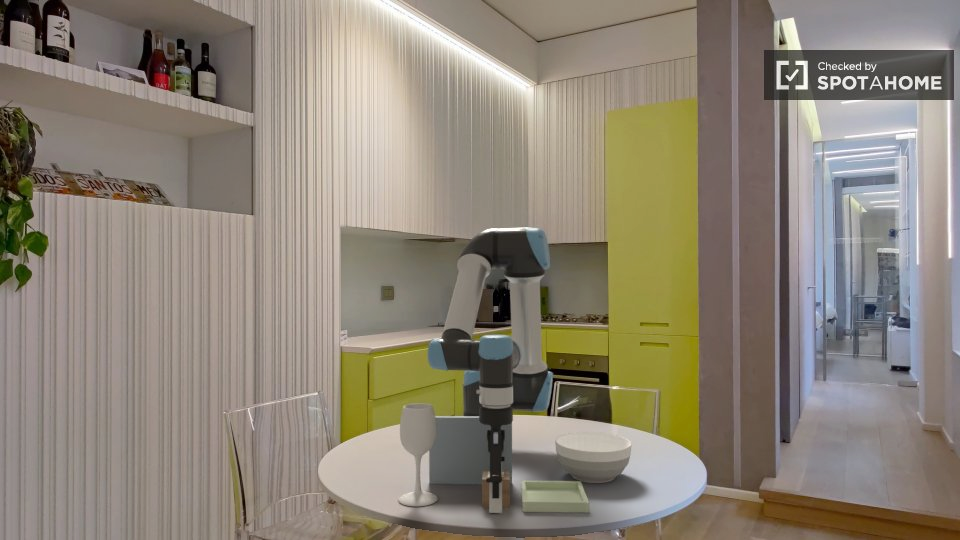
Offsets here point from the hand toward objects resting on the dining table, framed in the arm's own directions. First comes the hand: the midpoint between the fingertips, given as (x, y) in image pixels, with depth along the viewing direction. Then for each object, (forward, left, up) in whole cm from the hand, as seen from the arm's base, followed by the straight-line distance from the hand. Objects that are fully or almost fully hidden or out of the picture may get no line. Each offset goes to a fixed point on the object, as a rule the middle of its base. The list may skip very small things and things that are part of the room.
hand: (495, 501), depth 139 cm
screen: (-12, +7, 0) cm, 14 cm away
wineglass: (-15, -9, 0) cm, 18 cm away
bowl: (+10, +29, 0) cm, 31 cm away
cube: (0, 0, 0) cm, 0 cm away
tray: (+10, +8, 0) cm, 13 cm away
